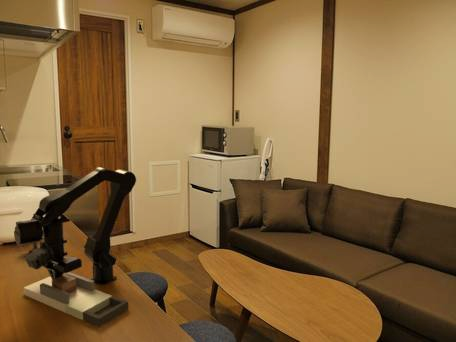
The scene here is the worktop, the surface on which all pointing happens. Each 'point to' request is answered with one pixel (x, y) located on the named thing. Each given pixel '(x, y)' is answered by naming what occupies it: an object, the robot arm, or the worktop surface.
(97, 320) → the tray
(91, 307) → the deck
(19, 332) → the worktop surface
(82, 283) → the lane walls
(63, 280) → the walnut block
